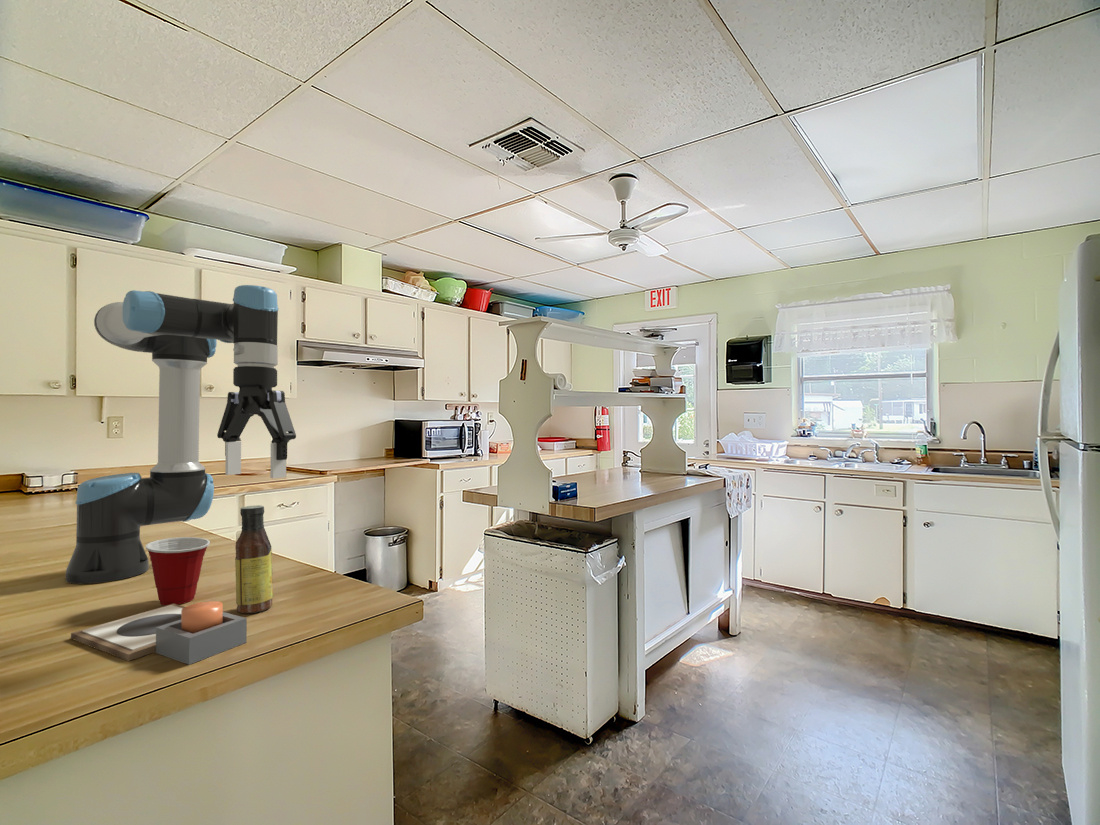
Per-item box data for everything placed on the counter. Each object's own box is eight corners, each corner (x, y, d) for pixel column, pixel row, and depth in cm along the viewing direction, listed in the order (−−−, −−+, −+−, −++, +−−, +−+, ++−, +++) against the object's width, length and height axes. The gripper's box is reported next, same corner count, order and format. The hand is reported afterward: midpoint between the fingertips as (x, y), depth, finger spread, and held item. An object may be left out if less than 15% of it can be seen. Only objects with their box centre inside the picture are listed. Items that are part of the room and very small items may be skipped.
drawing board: (70, 638, 90) (70, 631, 90) (173, 608, 104) (173, 602, 104) (128, 661, 82) (128, 652, 82) (231, 625, 96) (231, 617, 96)
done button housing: (155, 652, 85) (155, 627, 85) (213, 632, 93) (213, 609, 93) (189, 664, 81) (189, 638, 81) (246, 642, 89) (246, 618, 89)
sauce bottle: (280, 605, 106) (280, 505, 106) (253, 616, 100) (253, 510, 100) (254, 602, 108) (255, 503, 109) (226, 612, 102) (227, 508, 103)
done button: (173, 631, 86) (173, 609, 86) (209, 620, 91) (209, 599, 91) (194, 638, 83) (194, 615, 83) (230, 625, 88) (230, 604, 88)
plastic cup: (177, 612, 102) (177, 549, 103) (130, 608, 105) (131, 546, 105) (222, 594, 113) (223, 537, 113) (179, 590, 115) (179, 534, 115)
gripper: (197, 368, 107) (196, 474, 107) (280, 361, 96) (280, 481, 95) (234, 371, 114) (233, 471, 113) (316, 365, 102) (315, 477, 102)
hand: (255, 476), depth 104 cm, fingers open, 13 cm apart
